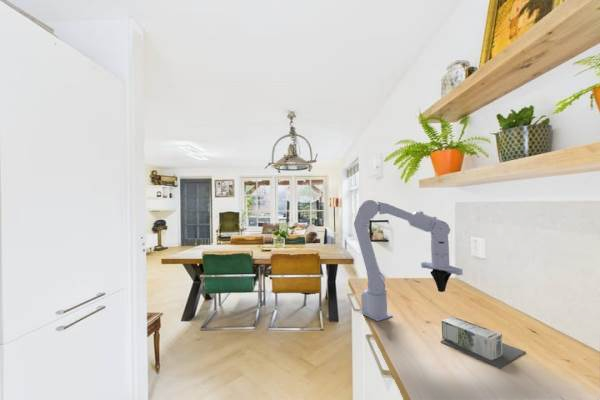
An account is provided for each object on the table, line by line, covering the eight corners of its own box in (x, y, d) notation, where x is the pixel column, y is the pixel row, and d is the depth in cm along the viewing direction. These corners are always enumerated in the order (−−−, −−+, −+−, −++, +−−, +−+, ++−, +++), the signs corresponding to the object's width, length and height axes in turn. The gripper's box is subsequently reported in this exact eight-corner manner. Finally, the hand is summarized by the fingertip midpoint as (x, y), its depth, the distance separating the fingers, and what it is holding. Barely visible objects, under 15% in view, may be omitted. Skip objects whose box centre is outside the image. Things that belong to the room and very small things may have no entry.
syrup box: (452, 334, 88) (504, 354, 75) (441, 338, 85) (492, 361, 72) (451, 316, 88) (503, 333, 75) (440, 320, 85) (491, 339, 72)
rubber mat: (440, 342, 83) (440, 341, 83) (466, 330, 90) (466, 329, 90) (499, 368, 69) (499, 367, 69) (525, 352, 76) (525, 351, 76)
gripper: (466, 254, 95) (468, 294, 94) (429, 249, 107) (430, 284, 107) (454, 257, 91) (456, 298, 91) (417, 251, 104) (418, 287, 104)
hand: (441, 291), depth 99 cm, fingers closed
